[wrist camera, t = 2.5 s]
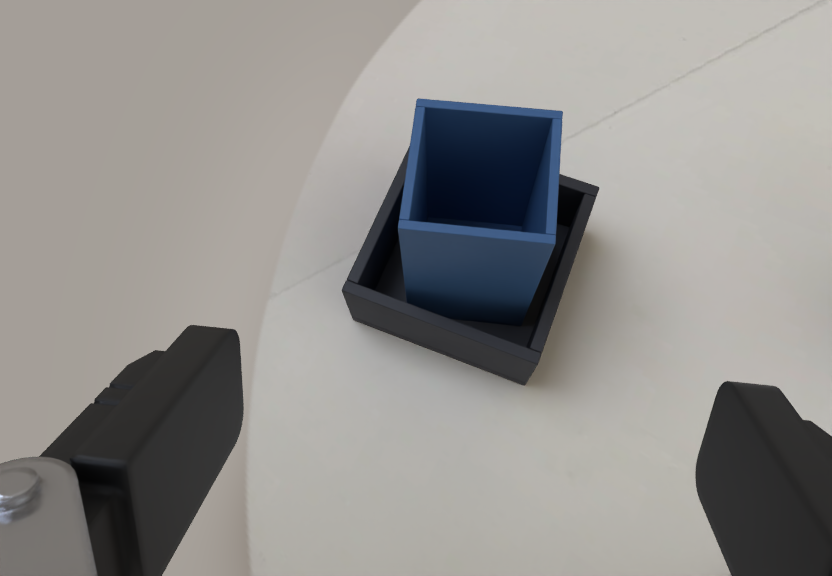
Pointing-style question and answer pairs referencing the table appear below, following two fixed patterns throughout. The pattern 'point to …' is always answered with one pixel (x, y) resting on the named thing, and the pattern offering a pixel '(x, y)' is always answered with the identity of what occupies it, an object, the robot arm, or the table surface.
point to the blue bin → (479, 208)
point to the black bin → (460, 339)
